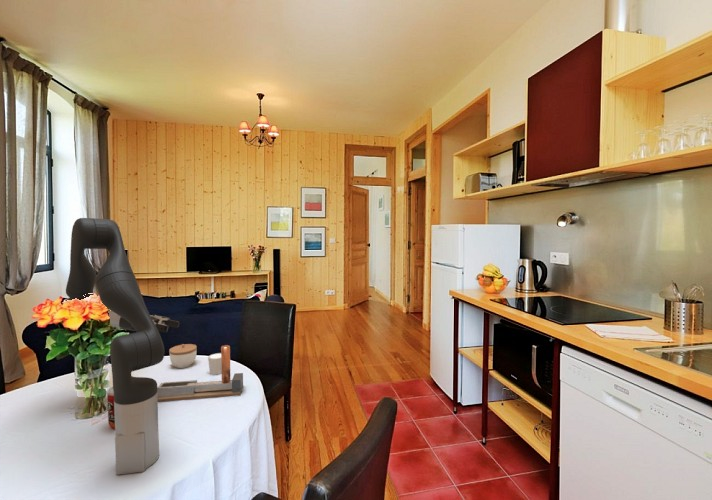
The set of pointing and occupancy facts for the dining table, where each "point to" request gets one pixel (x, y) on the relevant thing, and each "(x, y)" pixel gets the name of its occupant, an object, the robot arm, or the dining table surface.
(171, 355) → the lidded jar
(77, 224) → the robot arm
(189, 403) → the dining table surface
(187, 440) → the dining table surface
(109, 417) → the canned food
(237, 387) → the socket block
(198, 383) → the sliding bolt with handle
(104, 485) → the dining table surface
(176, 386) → the guide sleeve
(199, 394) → the plank
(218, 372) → the beige cylindrical piece
